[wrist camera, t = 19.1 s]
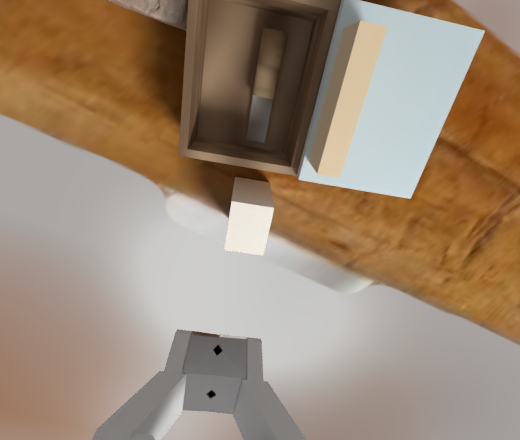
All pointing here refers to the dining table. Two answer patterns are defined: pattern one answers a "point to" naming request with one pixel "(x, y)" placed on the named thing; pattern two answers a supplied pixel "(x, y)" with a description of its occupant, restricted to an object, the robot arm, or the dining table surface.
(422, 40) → the lid
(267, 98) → the chisel
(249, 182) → the block
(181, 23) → the brick
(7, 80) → the dining table surface
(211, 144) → the dark wood box
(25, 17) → the dining table surface
